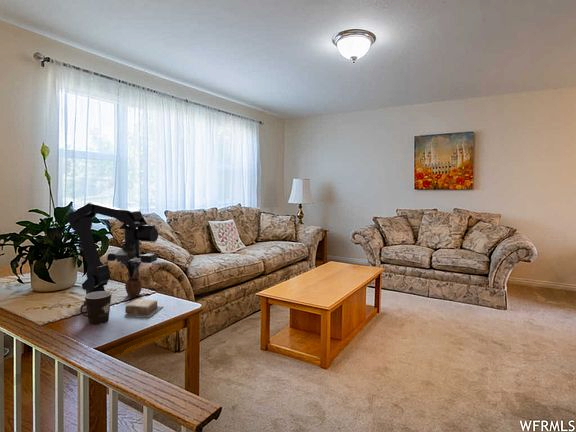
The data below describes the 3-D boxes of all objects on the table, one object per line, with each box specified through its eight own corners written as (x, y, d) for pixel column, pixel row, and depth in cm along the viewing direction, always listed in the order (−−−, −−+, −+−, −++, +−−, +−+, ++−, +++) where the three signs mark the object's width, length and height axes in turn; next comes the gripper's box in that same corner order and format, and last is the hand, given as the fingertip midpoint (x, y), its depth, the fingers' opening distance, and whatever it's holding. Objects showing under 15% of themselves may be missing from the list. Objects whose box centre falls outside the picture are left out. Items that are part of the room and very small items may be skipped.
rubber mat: (125, 315, 134) (125, 314, 134) (140, 305, 144) (140, 305, 144) (149, 317, 133) (149, 316, 132) (163, 307, 143) (163, 306, 143)
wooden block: (125, 305, 135) (147, 307, 134) (136, 298, 143) (157, 300, 142) (125, 313, 135) (147, 315, 134) (136, 306, 143) (157, 307, 142)
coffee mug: (105, 314, 134) (105, 289, 133) (116, 321, 128) (115, 294, 128) (72, 323, 125) (71, 296, 124) (81, 330, 120) (81, 302, 119)
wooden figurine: (144, 293, 160) (144, 261, 159) (137, 297, 155) (137, 264, 153) (130, 292, 161) (130, 260, 160) (123, 296, 155) (122, 263, 154)
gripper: (97, 242, 135) (98, 281, 136) (143, 244, 133) (143, 284, 134) (115, 238, 146) (115, 274, 147) (157, 240, 144) (157, 277, 145)
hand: (132, 277), depth 143 cm, fingers closed
